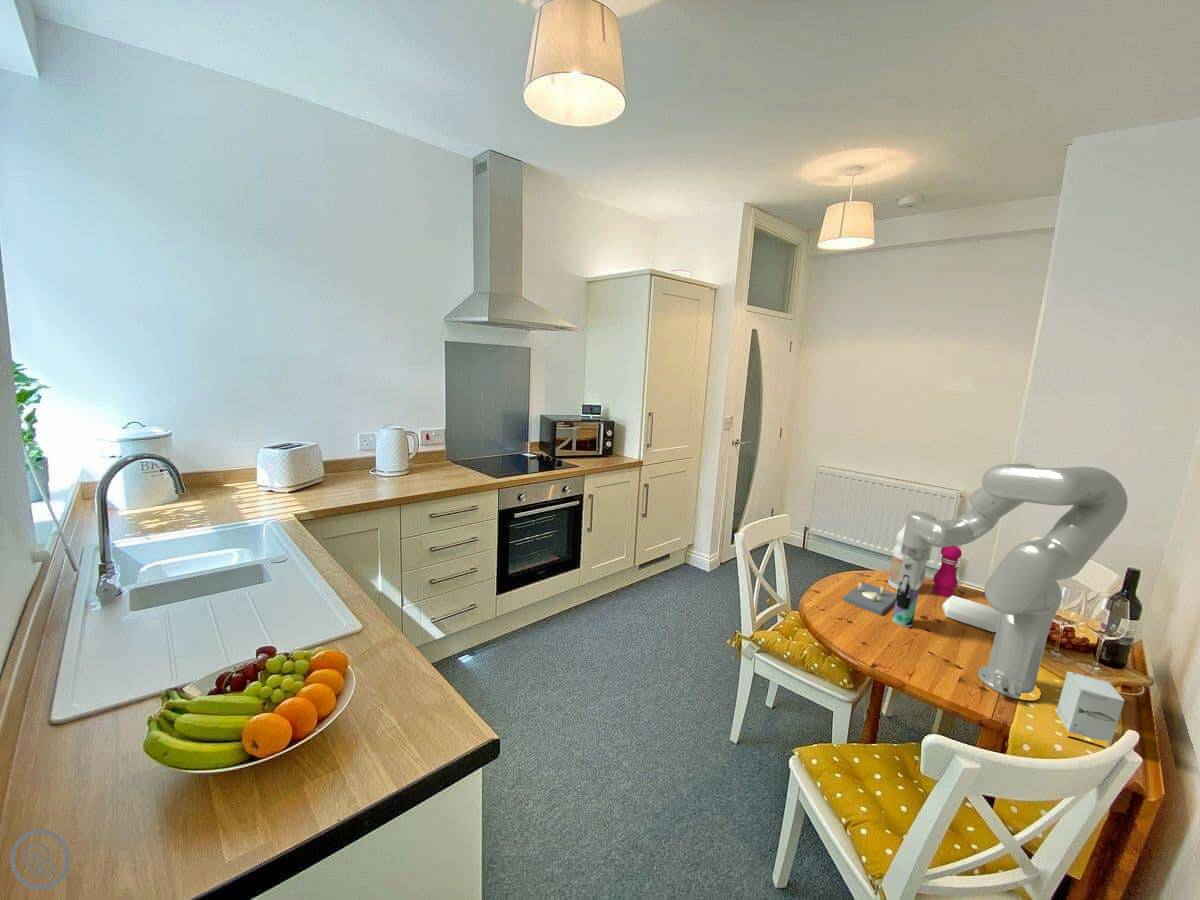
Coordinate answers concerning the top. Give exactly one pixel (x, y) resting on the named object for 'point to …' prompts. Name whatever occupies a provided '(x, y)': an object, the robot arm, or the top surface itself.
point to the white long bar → (971, 613)
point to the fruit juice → (896, 560)
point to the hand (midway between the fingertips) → (905, 603)
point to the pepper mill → (947, 572)
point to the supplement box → (1089, 707)
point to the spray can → (905, 615)
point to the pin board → (871, 598)
